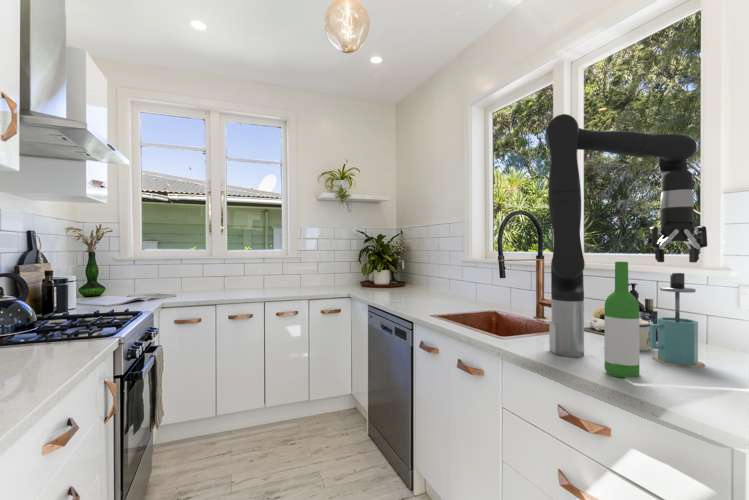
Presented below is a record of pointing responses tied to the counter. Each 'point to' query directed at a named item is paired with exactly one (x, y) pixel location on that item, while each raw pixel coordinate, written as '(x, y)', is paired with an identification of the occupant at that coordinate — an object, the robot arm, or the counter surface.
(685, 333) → the press pot
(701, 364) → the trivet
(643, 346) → the teacup with lid
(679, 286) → the knob on metal rod
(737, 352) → the counter surface
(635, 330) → the wine bottle
